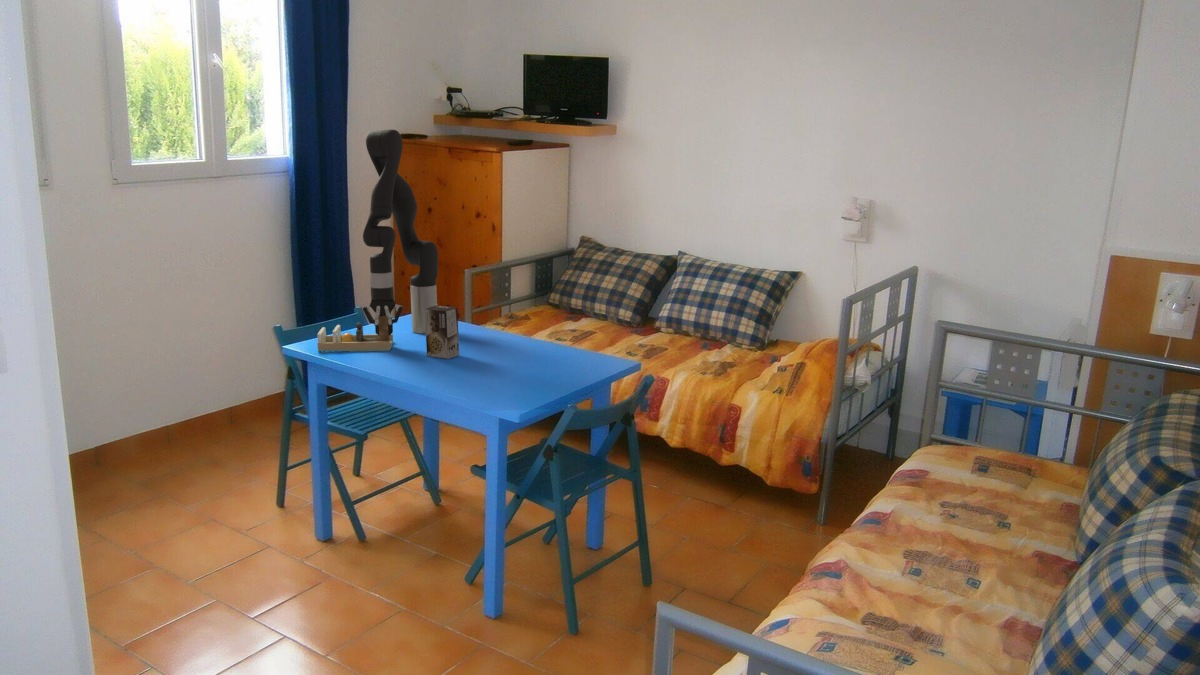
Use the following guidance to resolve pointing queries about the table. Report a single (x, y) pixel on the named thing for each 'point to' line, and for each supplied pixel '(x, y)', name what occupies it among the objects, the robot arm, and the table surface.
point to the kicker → (382, 331)
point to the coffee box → (442, 331)
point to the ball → (347, 337)
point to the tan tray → (356, 344)
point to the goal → (322, 335)
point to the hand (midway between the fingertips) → (384, 334)
